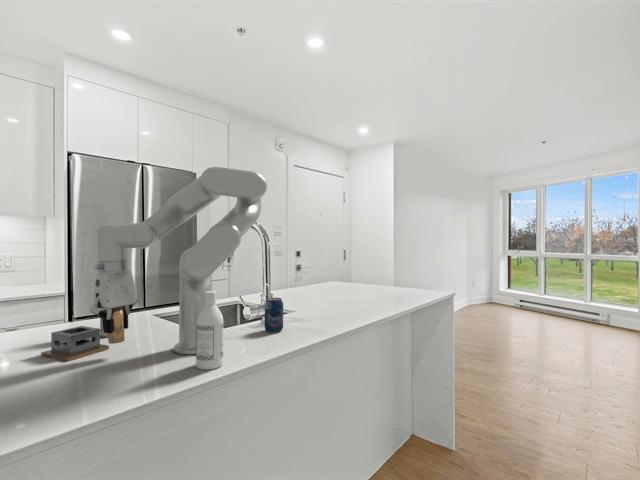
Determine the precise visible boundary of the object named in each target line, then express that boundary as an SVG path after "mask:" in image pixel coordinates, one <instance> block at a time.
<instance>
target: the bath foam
mask: <svg viewBox="0 0 640 480" xmlns="http://www.w3.org/2000/svg"><path fill="white" fill-rule="evenodd" d="M195 363H196V364H195V365H196V367H197V368H198V369H199V370H203V371H204V370H205V371H208V370H215V369H218V368H220V367H221V366H223V364H224V316H223V313H222V312H221V310H220V308H219V307H218V306H217V292H216V291H215V290H212V291H206V292H205V305H204V307H203V308H202V310H201V312H200V313H199V315H198V318H197V324H196V354H195Z"/></svg>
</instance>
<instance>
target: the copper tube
mask: <svg viewBox="0 0 640 480" xmlns="http://www.w3.org/2000/svg"><path fill="white" fill-rule="evenodd" d="M123 309H124V308H123V306H121V307H116V308H112V312H111V319H113V333H108V337H107V338H108V339H107V340H108V342H107V343H108V344H111V345H112V344H119V343H123V342H125V339H126V338H125V329H124V312H123Z"/></svg>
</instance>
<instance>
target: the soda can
mask: <svg viewBox="0 0 640 480" xmlns="http://www.w3.org/2000/svg"><path fill="white" fill-rule="evenodd" d="M265 300H266V301H265V302H264V330H265V331H266V332H267V333H271V334H275V333H280V332H282V331H283V328H284V302H283V299H282V298H281V297H268V298H266V299H265Z"/></svg>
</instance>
